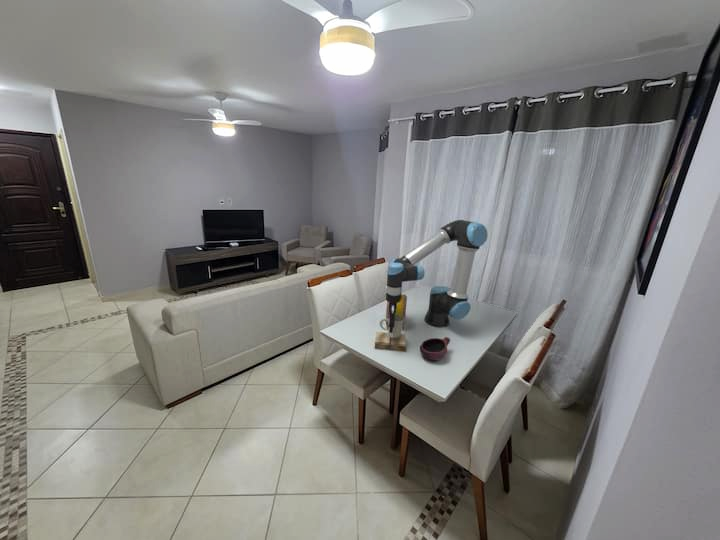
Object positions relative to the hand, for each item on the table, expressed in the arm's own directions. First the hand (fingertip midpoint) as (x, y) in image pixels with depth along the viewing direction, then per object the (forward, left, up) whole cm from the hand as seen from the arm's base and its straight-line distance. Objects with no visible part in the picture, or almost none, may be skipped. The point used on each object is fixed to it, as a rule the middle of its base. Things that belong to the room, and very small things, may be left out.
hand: (390, 333), depth 143 cm
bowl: (-22, +6, -7) cm, 24 cm away
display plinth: (0, 0, -7) cm, 7 cm away
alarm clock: (-3, -24, -7) cm, 25 cm away
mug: (0, 0, 0) cm, 1 cm away
